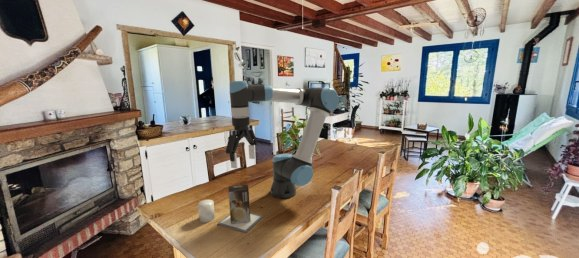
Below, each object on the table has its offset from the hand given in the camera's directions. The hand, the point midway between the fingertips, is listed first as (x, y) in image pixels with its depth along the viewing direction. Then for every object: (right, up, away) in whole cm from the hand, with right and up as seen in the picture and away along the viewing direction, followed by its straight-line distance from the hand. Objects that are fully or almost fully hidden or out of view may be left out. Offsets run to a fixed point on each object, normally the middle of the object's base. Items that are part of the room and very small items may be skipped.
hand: (243, 163), depth 112 cm
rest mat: (-2, -28, +4) cm, 28 cm away
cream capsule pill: (-19, -27, +6) cm, 34 cm away
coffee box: (-2, -27, +4) cm, 28 cm away
